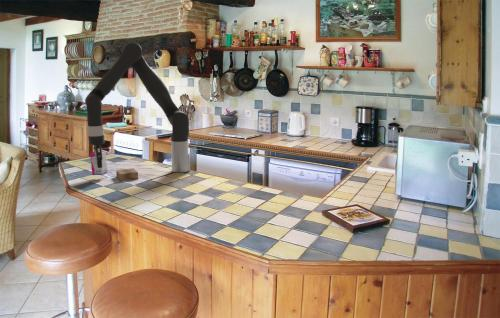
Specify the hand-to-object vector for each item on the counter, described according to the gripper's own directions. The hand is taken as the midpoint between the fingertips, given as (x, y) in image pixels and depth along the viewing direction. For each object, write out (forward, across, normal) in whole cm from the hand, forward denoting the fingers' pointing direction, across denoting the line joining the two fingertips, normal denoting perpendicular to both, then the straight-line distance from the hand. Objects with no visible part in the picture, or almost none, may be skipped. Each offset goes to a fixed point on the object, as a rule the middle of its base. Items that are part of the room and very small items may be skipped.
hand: (99, 165), depth 209 cm
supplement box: (+4, 0, 0) cm, 4 cm away
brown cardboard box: (+8, -4, -13) cm, 15 cm away
